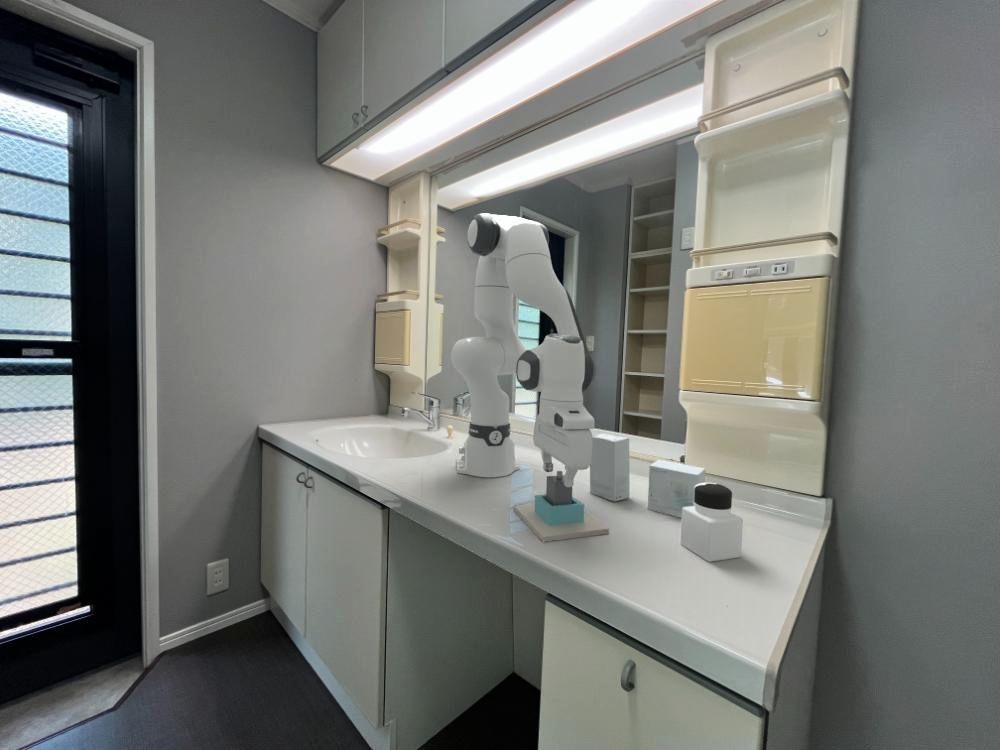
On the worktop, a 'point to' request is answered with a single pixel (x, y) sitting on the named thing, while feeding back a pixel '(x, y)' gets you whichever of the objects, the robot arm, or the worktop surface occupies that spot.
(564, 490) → the block
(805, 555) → the worktop surface
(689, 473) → the skincare box
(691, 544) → the medicine bottle
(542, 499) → the plate
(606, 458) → the skincare box
